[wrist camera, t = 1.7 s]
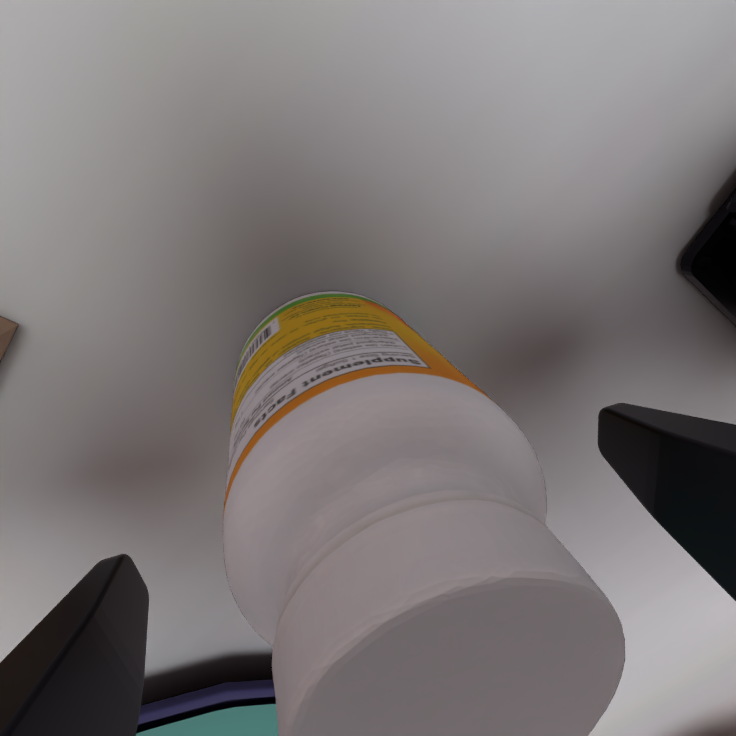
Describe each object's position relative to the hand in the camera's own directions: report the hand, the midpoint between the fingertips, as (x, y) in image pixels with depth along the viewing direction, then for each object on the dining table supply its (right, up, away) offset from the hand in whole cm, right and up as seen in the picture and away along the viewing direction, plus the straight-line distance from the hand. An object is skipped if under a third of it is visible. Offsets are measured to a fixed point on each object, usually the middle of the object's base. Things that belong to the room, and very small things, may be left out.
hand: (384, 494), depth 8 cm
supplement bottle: (-2, +2, +5) cm, 6 cm away
